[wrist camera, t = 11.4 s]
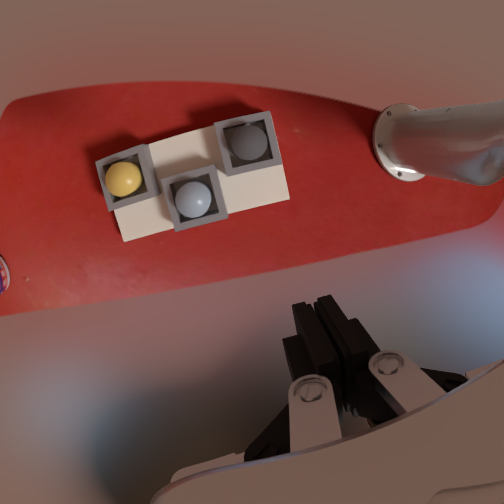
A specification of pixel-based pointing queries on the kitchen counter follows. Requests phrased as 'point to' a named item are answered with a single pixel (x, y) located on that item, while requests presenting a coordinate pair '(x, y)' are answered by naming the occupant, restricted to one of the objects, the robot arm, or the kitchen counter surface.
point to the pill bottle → (4, 276)
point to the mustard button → (124, 178)
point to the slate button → (193, 198)
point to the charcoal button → (249, 142)
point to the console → (196, 177)
